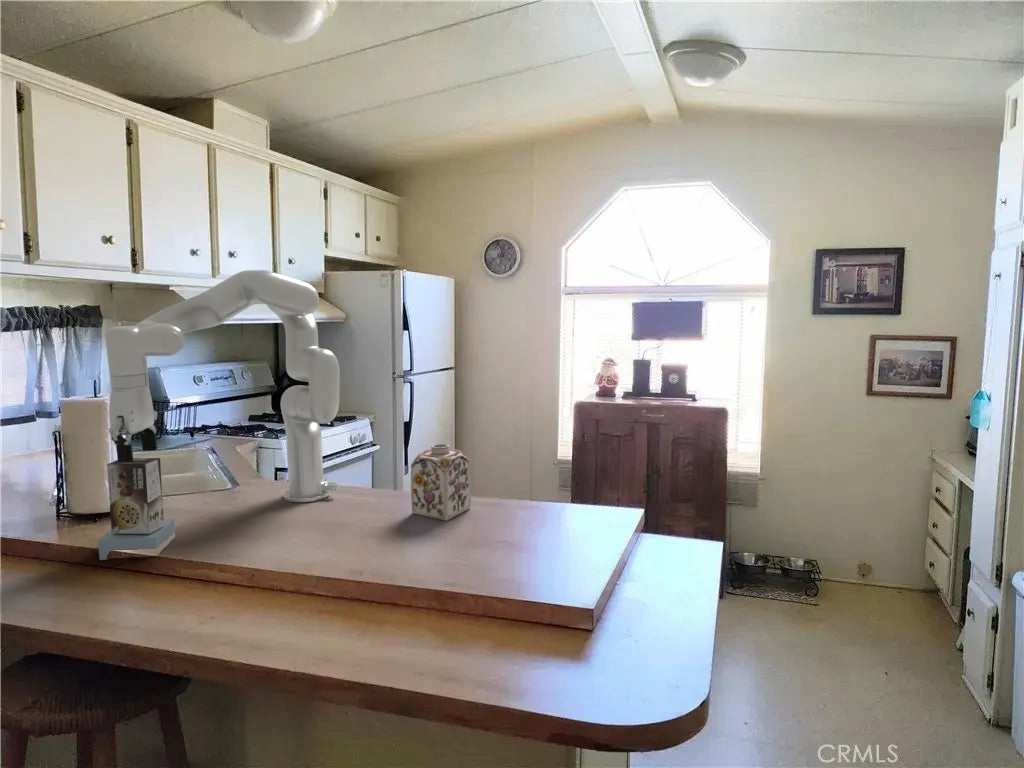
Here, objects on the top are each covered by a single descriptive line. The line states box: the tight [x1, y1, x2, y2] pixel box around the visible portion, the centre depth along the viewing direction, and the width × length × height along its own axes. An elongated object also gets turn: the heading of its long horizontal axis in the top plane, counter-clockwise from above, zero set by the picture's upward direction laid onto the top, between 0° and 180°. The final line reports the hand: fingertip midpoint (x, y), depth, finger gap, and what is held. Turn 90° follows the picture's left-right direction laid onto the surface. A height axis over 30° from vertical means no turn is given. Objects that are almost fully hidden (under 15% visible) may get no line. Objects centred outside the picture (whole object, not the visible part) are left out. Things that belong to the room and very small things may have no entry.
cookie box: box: [106, 457, 165, 534], centre depth 156 cm, size 9×6×16 cm
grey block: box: [97, 518, 177, 561], centre depth 158 cm, size 12×12×5 cm
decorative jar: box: [410, 443, 472, 522], centre depth 181 cm, size 12×12×18 cm
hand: (138, 455), depth 157 cm, fingers open, 9 cm apart
